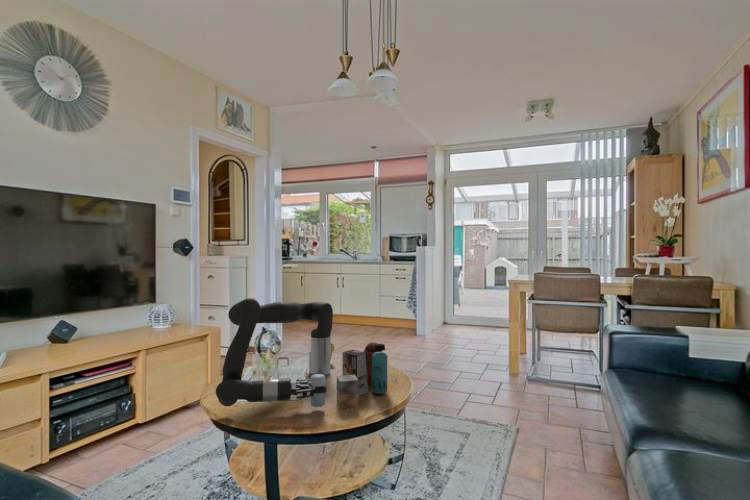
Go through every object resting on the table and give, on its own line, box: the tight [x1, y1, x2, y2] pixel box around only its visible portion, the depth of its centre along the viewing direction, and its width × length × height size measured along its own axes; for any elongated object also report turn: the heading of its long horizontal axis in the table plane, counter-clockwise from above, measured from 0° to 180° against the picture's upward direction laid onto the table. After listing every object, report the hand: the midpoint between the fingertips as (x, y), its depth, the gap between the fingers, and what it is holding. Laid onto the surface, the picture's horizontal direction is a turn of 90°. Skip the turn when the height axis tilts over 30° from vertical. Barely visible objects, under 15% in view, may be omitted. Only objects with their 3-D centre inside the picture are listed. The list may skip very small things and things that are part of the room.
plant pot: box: [330, 342, 335, 362], centre depth 212 cm, size 10×10×10 cm
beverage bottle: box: [370, 343, 389, 394], centre depth 165 cm, size 6×7×20 cm
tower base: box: [336, 390, 359, 409], centre depth 154 cm, size 7×7×5 cm
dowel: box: [310, 374, 326, 408], centre depth 148 cm, size 5×5×10 cm
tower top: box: [336, 375, 358, 395], centre depth 154 cm, size 7×7×5 cm
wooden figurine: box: [362, 342, 383, 387], centre depth 178 cm, size 12×6×18 cm, turn 41°
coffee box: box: [341, 349, 369, 397], centre depth 168 cm, size 9×6×16 cm
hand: (325, 386), depth 149 cm, fingers closed on dowel, 5 cm apart
